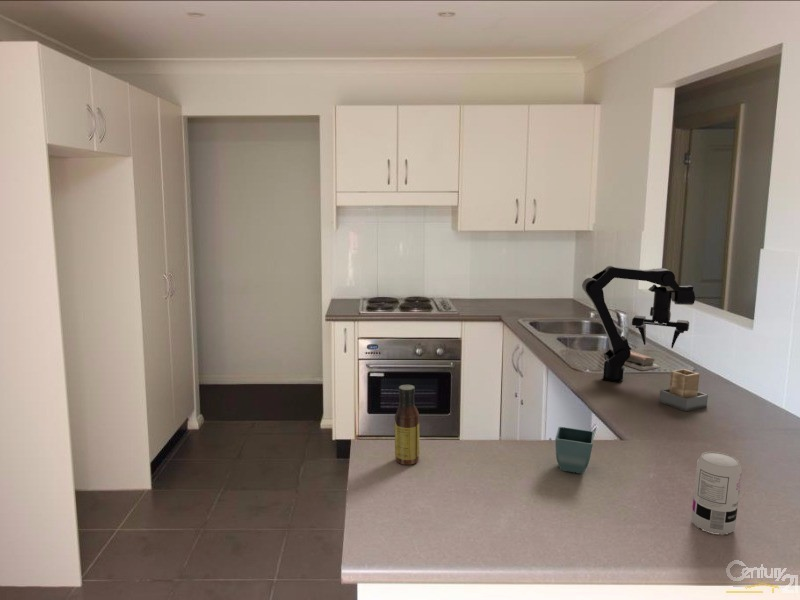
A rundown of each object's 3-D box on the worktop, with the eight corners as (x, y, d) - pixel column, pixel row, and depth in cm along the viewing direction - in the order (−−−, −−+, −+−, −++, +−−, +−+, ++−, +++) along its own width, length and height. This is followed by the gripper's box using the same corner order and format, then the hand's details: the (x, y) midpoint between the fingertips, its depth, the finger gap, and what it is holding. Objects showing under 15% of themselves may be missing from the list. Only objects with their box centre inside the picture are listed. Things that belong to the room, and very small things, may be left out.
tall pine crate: (668, 400, 207) (671, 371, 205) (680, 397, 210) (683, 368, 208) (684, 406, 202) (687, 376, 200) (696, 403, 205) (699, 373, 203)
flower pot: (591, 464, 160) (594, 430, 159) (590, 479, 152) (592, 443, 151) (556, 458, 163) (558, 426, 162) (553, 473, 155) (555, 438, 153)
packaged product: (608, 349, 258) (625, 346, 263) (607, 360, 259) (624, 357, 264) (643, 359, 243) (661, 356, 247) (642, 371, 243) (660, 368, 248)
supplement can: (683, 516, 135) (690, 450, 133) (720, 515, 136) (727, 450, 133) (704, 537, 127) (712, 467, 125) (743, 536, 128) (751, 467, 125)
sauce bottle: (407, 453, 165) (408, 380, 162) (424, 461, 161) (426, 386, 157) (388, 461, 161) (389, 386, 157) (406, 468, 156) (407, 392, 153)
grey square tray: (658, 401, 208) (660, 390, 207) (679, 397, 213) (680, 385, 212) (685, 411, 199) (687, 399, 199) (706, 406, 204) (708, 394, 203)
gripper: (692, 303, 228) (688, 344, 231) (637, 298, 237) (634, 338, 240) (689, 308, 219) (685, 351, 221) (633, 302, 227) (629, 344, 230)
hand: (658, 346), depth 228 cm, fingers open, 9 cm apart
